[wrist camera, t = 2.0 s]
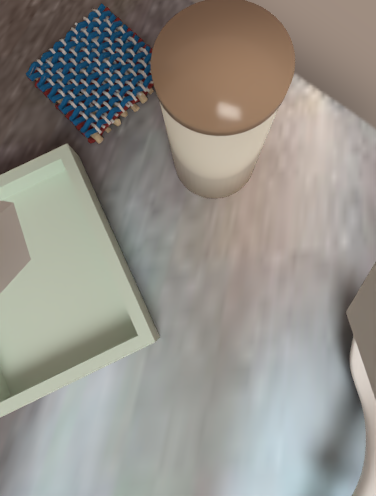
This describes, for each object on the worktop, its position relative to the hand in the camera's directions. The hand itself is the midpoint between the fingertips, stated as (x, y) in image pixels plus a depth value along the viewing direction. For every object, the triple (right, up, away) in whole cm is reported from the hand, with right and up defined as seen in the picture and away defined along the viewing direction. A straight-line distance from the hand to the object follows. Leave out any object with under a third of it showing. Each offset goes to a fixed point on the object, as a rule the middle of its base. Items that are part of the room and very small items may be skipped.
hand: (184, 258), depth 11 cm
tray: (-12, -2, +15) cm, 20 cm away
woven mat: (-8, +17, +19) cm, 26 cm away
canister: (+2, +8, +16) cm, 18 cm away
